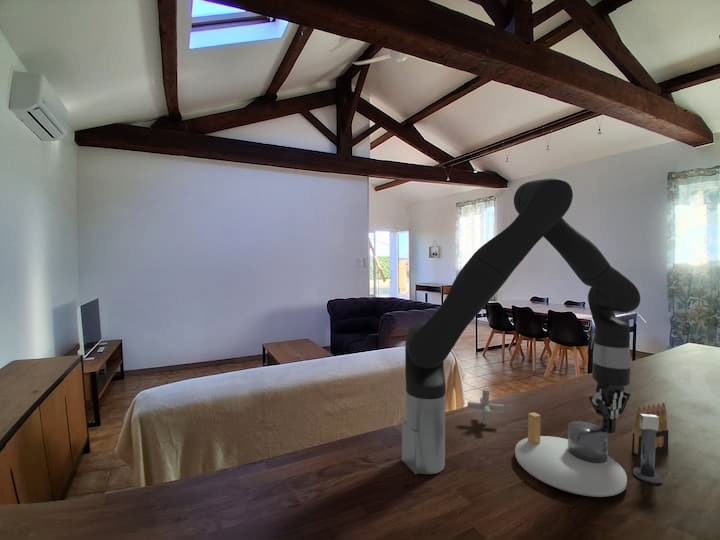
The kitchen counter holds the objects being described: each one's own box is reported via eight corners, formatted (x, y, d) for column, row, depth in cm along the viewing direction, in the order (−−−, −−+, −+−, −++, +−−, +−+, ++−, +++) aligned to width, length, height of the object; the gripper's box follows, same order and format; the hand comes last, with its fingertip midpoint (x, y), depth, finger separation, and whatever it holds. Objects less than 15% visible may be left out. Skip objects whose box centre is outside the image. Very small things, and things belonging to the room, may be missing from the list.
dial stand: (653, 471, 80) (655, 411, 79) (667, 485, 75) (669, 421, 75) (628, 469, 81) (630, 409, 80) (641, 482, 76) (643, 419, 76)
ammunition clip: (639, 456, 86) (640, 409, 86) (631, 452, 88) (632, 405, 87) (668, 449, 89) (670, 403, 89) (660, 445, 91) (661, 400, 91)
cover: (593, 466, 78) (593, 440, 78) (560, 448, 85) (560, 424, 85) (615, 458, 81) (616, 433, 81) (581, 442, 89) (582, 418, 88)
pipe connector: (506, 433, 97) (507, 398, 97) (469, 429, 99) (470, 395, 99) (499, 417, 107) (500, 385, 107) (466, 414, 109) (466, 382, 109)
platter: (582, 509, 66) (583, 467, 66) (495, 450, 86) (495, 418, 86) (650, 480, 75) (651, 443, 75) (556, 433, 95) (557, 404, 95)
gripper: (610, 370, 80) (608, 444, 81) (644, 363, 85) (641, 433, 86) (578, 361, 87) (576, 429, 87) (611, 356, 92) (609, 420, 93)
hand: (608, 431), depth 87 cm, fingers closed
